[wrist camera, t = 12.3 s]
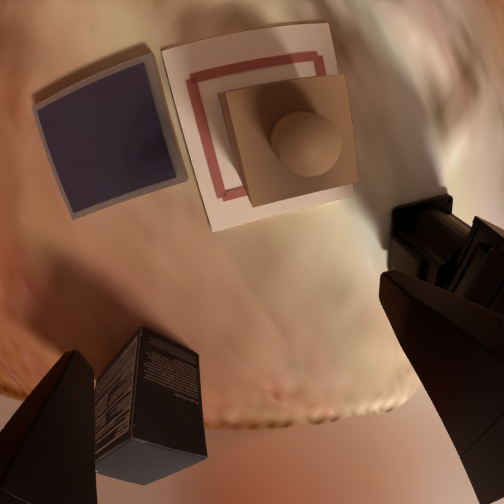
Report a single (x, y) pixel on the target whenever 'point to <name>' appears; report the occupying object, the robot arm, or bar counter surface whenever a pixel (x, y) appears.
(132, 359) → the small box
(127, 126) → the ink pad
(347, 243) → the bar counter surface
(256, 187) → the stamp
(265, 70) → the print sheet
